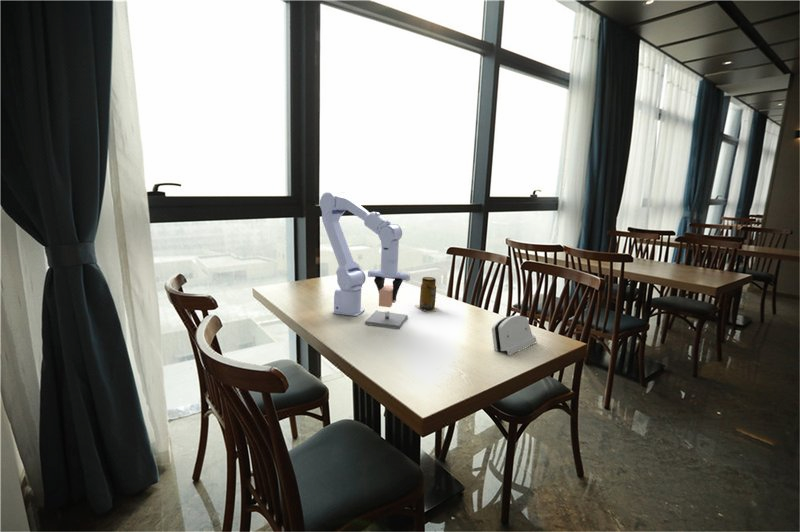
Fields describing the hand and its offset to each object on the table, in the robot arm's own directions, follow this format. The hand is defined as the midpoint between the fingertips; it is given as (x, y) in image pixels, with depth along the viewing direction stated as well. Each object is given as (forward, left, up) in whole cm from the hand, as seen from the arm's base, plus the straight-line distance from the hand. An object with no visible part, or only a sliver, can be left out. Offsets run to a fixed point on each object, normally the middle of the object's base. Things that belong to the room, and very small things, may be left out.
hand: (387, 298), depth 132 cm
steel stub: (0, 0, -8) cm, 8 cm away
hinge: (+42, -7, -8) cm, 43 cm away
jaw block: (0, 0, -2) cm, 2 cm away
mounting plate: (0, 0, -8) cm, 8 cm away
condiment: (+11, +20, -8) cm, 24 cm away
